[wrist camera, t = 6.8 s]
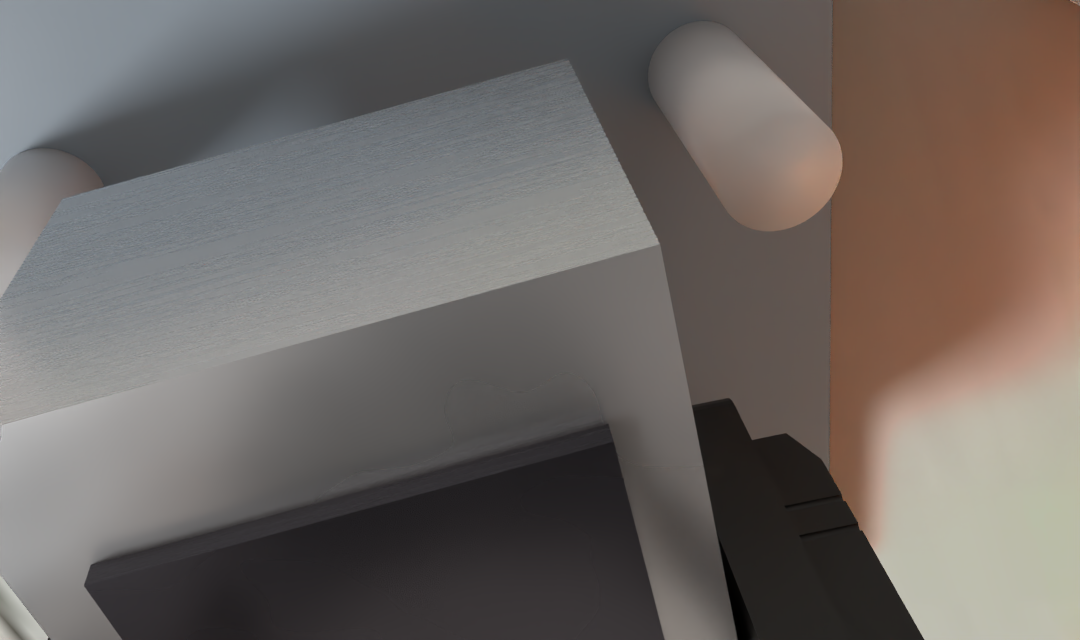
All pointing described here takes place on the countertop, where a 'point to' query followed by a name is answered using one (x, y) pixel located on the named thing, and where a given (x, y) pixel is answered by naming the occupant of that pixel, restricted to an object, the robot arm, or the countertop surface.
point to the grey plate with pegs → (458, 61)
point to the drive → (360, 392)
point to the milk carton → (1075, 1)
